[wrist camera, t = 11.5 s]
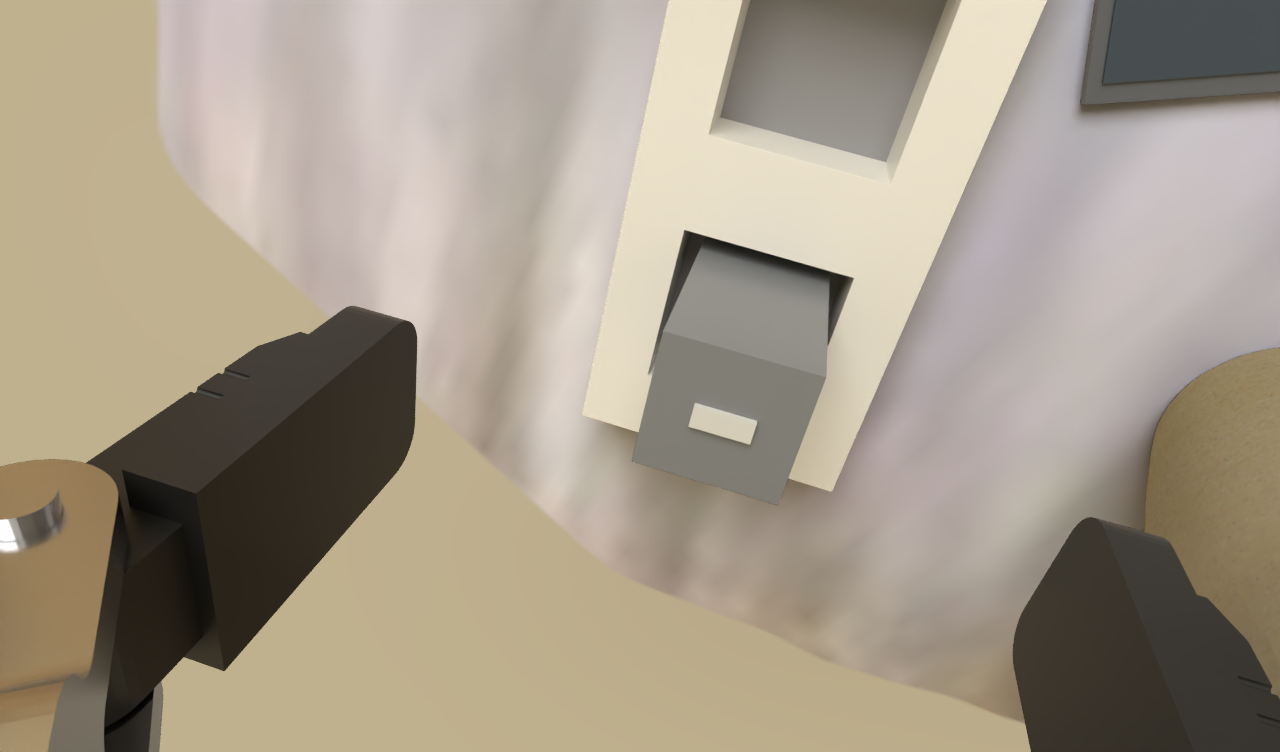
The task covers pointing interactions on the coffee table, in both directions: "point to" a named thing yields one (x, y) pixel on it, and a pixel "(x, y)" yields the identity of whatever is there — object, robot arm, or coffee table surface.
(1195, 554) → the plant pot
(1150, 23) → the phone slab
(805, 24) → the outlet plate
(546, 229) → the coffee table surface
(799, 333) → the block
